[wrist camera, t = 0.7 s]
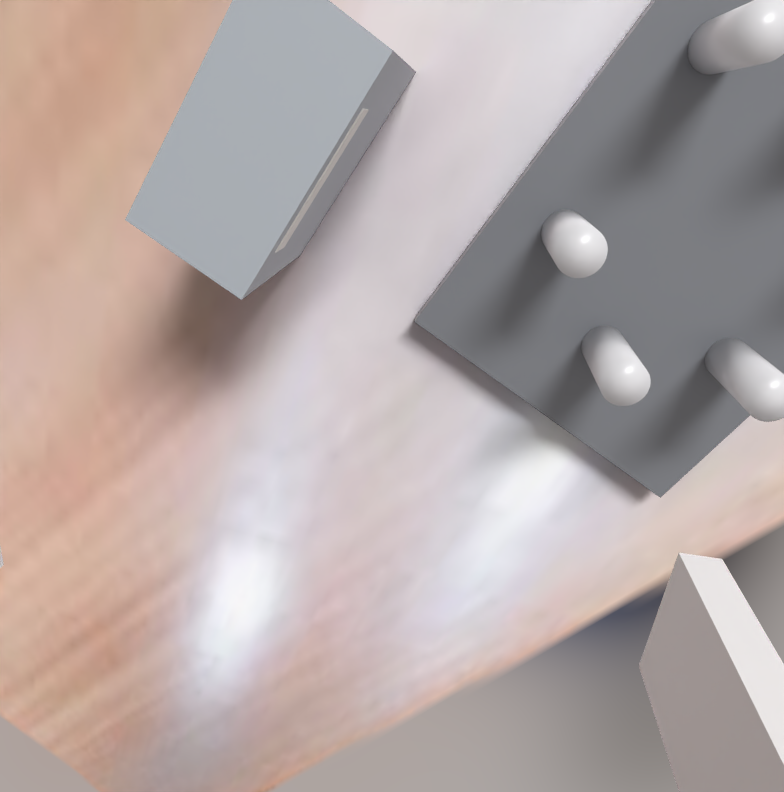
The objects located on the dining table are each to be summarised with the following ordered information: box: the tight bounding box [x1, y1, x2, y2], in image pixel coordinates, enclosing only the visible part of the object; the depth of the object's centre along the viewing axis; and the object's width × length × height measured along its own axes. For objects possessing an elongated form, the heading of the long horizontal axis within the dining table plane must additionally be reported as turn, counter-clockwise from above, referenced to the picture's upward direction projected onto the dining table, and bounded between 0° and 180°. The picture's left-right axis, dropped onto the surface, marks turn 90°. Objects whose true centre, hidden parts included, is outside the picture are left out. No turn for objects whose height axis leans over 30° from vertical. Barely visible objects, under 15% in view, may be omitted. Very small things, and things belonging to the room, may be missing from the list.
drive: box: [125, 0, 416, 300], centre depth 26 cm, size 5×10×9 cm, turn 145°
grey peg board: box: [414, 0, 784, 498], centre depth 26 cm, size 16×24×6 cm, turn 145°
